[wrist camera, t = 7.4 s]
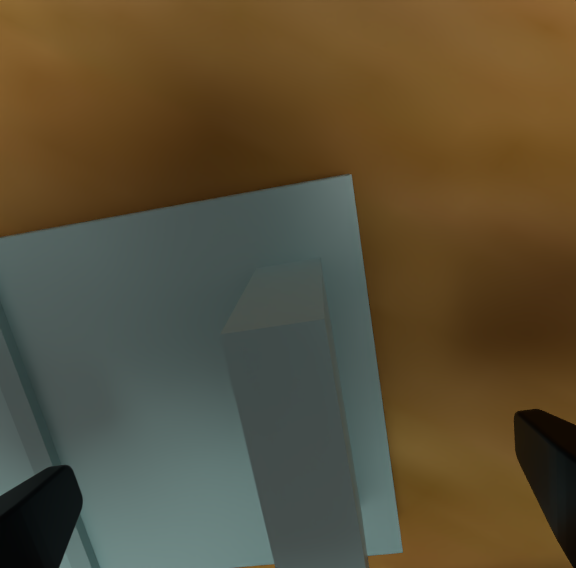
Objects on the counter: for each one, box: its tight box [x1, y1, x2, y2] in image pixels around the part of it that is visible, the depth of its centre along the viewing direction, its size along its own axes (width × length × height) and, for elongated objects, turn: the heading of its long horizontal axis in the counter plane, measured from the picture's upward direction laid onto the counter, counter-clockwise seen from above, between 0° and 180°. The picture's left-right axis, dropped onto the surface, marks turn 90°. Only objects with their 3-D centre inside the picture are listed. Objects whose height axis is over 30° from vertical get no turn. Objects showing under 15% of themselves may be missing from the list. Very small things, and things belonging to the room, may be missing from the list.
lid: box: [0, 174, 403, 568], centre depth 10 cm, size 14×10×6 cm
